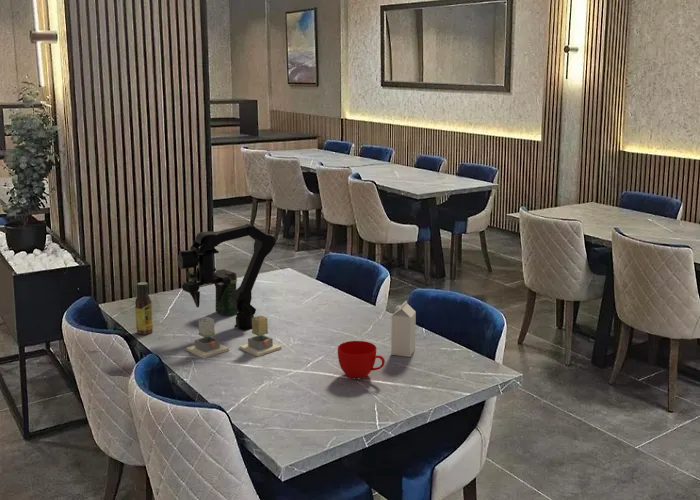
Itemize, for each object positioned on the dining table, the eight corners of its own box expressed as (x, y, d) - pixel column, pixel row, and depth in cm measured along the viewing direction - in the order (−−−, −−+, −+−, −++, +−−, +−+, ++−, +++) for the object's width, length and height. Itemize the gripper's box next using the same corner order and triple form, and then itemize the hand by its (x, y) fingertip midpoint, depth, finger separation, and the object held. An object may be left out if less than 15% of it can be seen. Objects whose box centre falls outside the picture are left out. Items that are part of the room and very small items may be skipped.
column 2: (261, 330, 276) (260, 315, 275) (268, 333, 273) (267, 318, 272) (251, 333, 273) (251, 317, 272) (258, 336, 270) (258, 320, 269)
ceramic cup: (374, 389, 240) (374, 360, 238) (330, 377, 249) (330, 349, 247) (393, 375, 251) (393, 347, 249) (350, 365, 260) (350, 338, 257)
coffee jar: (241, 313, 314) (239, 271, 310) (225, 317, 309) (223, 274, 304) (228, 308, 321) (226, 266, 317) (212, 312, 316) (210, 269, 311)
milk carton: (415, 350, 273) (416, 301, 269) (410, 357, 267) (411, 306, 262) (396, 348, 275) (397, 299, 271) (390, 355, 269) (391, 304, 264)
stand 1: (211, 342, 280) (211, 332, 280) (228, 350, 273) (228, 340, 272) (186, 350, 273) (185, 339, 272) (203, 358, 265) (202, 347, 264)
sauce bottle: (148, 335, 288) (145, 286, 283) (133, 334, 289) (130, 285, 284) (156, 330, 294) (153, 281, 289) (141, 329, 295) (138, 280, 290)
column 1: (208, 332, 274) (207, 316, 273) (215, 335, 271) (214, 319, 270) (198, 334, 272) (198, 319, 270) (205, 337, 269) (204, 322, 267)
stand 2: (263, 341, 282) (263, 331, 281) (281, 348, 274) (281, 338, 274) (239, 348, 275) (239, 338, 274) (257, 356, 267) (257, 346, 266)
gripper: (214, 257, 295) (216, 295, 299) (173, 265, 282) (175, 305, 286) (231, 262, 287) (232, 301, 291) (189, 271, 274) (191, 311, 278)
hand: (207, 304), depth 287 cm, fingers open, 9 cm apart
